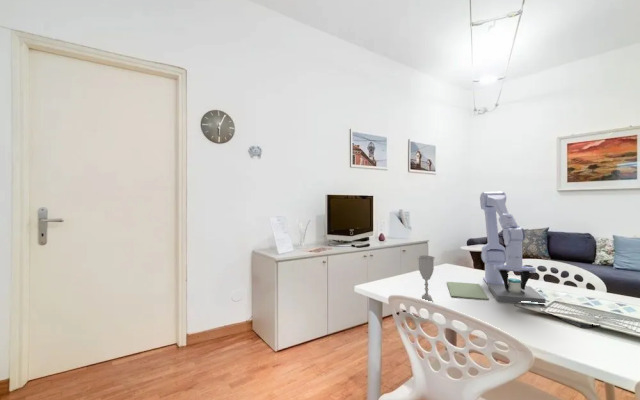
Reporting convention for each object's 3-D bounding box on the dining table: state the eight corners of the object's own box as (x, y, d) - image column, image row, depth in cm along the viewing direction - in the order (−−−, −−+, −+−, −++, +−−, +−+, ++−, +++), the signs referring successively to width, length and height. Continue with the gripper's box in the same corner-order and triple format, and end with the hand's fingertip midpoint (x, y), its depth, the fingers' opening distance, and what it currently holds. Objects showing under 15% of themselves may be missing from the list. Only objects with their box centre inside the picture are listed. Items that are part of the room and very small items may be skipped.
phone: (556, 305, 108) (601, 323, 93) (556, 308, 108) (601, 326, 93) (538, 307, 107) (581, 325, 92) (538, 310, 107) (581, 329, 92)
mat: (446, 282, 141) (446, 281, 141) (478, 285, 136) (478, 283, 136) (451, 297, 122) (451, 295, 122) (488, 300, 118) (488, 298, 118)
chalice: (437, 304, 114) (436, 259, 114) (419, 303, 116) (418, 259, 115) (433, 297, 122) (432, 255, 121) (417, 297, 123) (416, 255, 123)
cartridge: (507, 294, 123) (506, 278, 123) (519, 295, 122) (518, 278, 122) (510, 297, 119) (509, 281, 119) (522, 298, 118) (522, 281, 118)
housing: (488, 288, 131) (488, 283, 131) (530, 291, 126) (530, 286, 126) (497, 301, 116) (497, 295, 116) (545, 305, 110) (545, 299, 110)
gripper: (496, 257, 119) (497, 290, 119) (538, 259, 114) (538, 293, 114) (492, 254, 126) (493, 284, 126) (531, 255, 121) (532, 287, 121)
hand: (514, 288), depth 121 cm, fingers open, 5 cm apart
